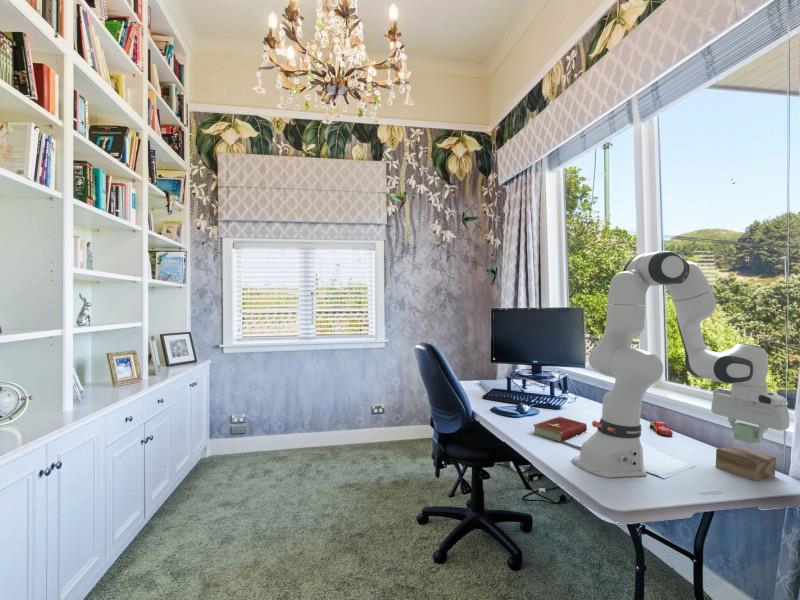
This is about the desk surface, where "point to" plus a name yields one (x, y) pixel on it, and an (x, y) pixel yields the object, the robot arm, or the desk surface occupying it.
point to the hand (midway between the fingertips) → (746, 435)
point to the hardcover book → (560, 428)
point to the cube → (746, 432)
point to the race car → (661, 428)
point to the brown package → (745, 462)
